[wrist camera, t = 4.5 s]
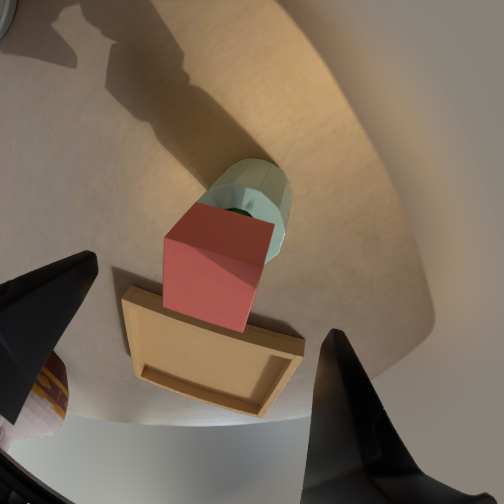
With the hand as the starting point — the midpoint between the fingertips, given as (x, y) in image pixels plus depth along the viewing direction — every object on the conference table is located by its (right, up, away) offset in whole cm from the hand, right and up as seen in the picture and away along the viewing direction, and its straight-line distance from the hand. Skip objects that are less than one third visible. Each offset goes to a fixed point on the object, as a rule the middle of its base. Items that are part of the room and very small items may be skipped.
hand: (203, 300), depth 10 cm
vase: (+2, +5, +8) cm, 10 cm away
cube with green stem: (+2, +5, +8) cm, 10 cm away
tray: (-3, -10, +19) cm, 21 cm away
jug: (-37, -18, +33) cm, 53 cm away
